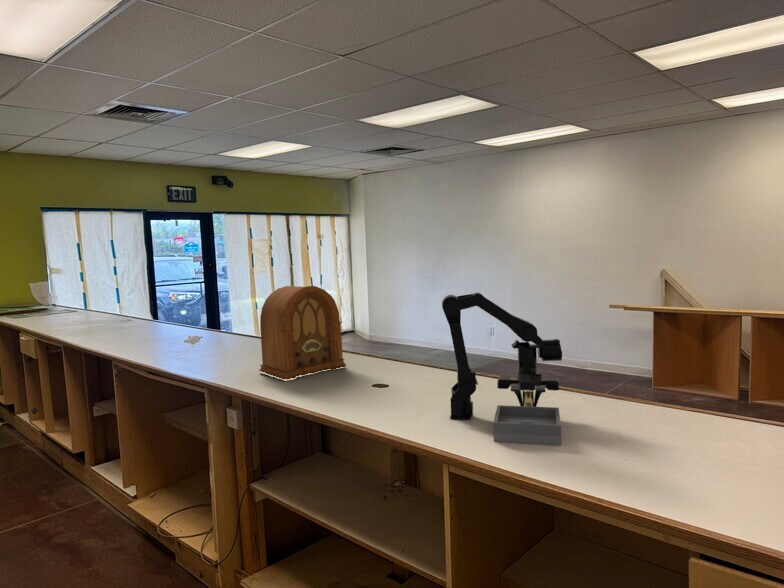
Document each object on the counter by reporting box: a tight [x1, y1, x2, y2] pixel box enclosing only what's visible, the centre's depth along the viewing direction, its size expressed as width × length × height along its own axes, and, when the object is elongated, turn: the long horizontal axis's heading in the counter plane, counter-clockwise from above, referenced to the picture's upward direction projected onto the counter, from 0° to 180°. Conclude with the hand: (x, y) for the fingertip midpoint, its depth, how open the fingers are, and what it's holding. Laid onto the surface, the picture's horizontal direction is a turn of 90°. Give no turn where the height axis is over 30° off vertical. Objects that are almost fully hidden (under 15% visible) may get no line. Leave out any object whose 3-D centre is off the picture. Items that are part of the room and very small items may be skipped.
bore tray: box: [492, 404, 562, 446], centre depth 150 cm, size 18×16×6 cm
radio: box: [258, 285, 347, 379], centre depth 240 cm, size 33×23×40 cm
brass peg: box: [522, 390, 535, 407], centre depth 165 cm, size 3×3×8 cm
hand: (528, 409), depth 165 cm, fingers closed on brass peg, 3 cm apart
